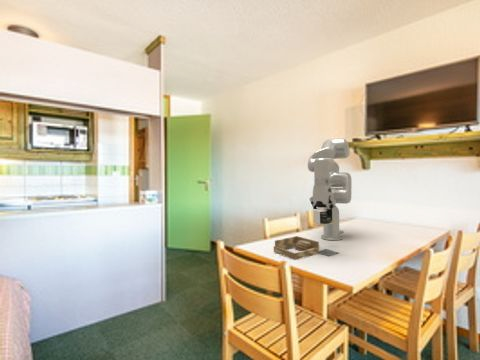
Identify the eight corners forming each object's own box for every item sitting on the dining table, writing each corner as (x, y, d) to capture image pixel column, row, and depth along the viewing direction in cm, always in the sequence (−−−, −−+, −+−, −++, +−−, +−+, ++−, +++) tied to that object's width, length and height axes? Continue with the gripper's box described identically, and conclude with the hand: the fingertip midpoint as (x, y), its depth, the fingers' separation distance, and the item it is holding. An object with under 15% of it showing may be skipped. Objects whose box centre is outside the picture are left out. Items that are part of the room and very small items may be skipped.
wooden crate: (296, 246, 152) (296, 236, 152) (318, 253, 138) (318, 241, 138) (273, 251, 143) (273, 240, 142) (294, 259, 129) (294, 247, 129)
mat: (326, 249, 144) (326, 248, 144) (338, 253, 138) (338, 252, 137) (315, 252, 140) (315, 251, 140) (328, 256, 133) (328, 255, 133)
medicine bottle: (320, 225, 134) (319, 201, 134) (313, 222, 141) (312, 200, 141) (332, 224, 136) (332, 200, 135) (325, 221, 143) (324, 199, 142)
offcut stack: (300, 248, 148) (300, 239, 148) (312, 251, 141) (312, 242, 141) (295, 249, 146) (295, 240, 146) (307, 253, 139) (307, 244, 139)
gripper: (340, 182, 132) (341, 216, 133) (314, 181, 147) (315, 212, 148) (330, 183, 128) (331, 218, 129) (304, 182, 143) (305, 214, 144)
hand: (322, 215), depth 138 cm, fingers closed on medicine bottle, 8 cm apart
